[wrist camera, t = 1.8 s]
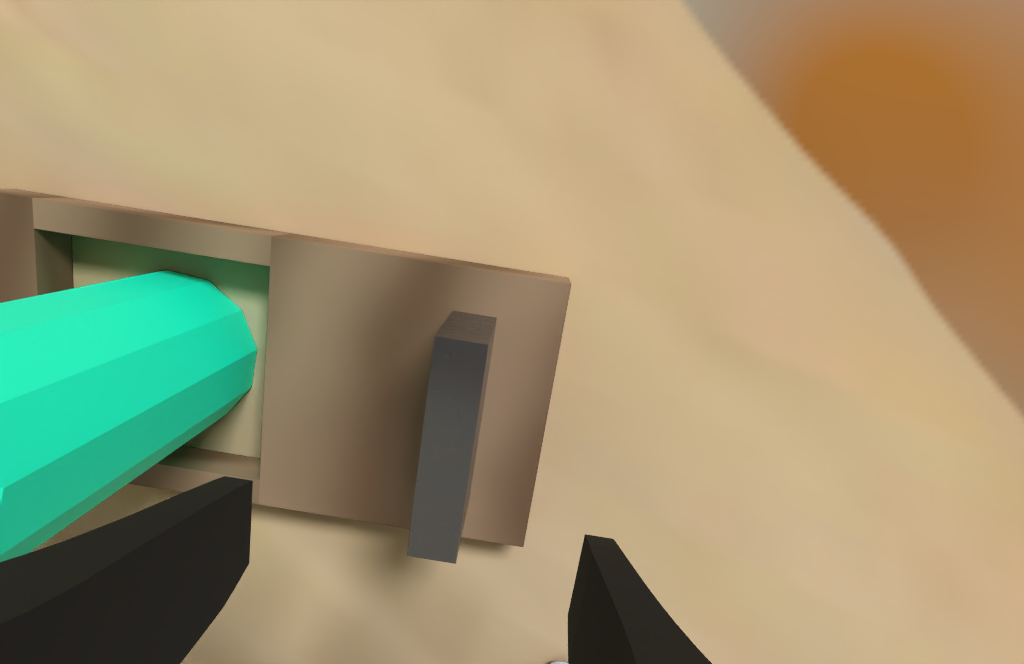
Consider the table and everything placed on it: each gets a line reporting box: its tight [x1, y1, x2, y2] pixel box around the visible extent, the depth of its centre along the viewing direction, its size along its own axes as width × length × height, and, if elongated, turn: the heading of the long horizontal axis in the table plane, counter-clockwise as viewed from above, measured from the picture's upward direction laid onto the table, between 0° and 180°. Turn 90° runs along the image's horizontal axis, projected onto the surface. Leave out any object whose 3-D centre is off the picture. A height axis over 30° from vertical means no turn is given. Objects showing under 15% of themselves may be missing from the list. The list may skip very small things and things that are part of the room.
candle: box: [0, 270, 257, 562], centre depth 15 cm, size 6×6×12 cm
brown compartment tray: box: [0, 189, 571, 564], centre depth 18 cm, size 20×10×5 cm, turn 81°
